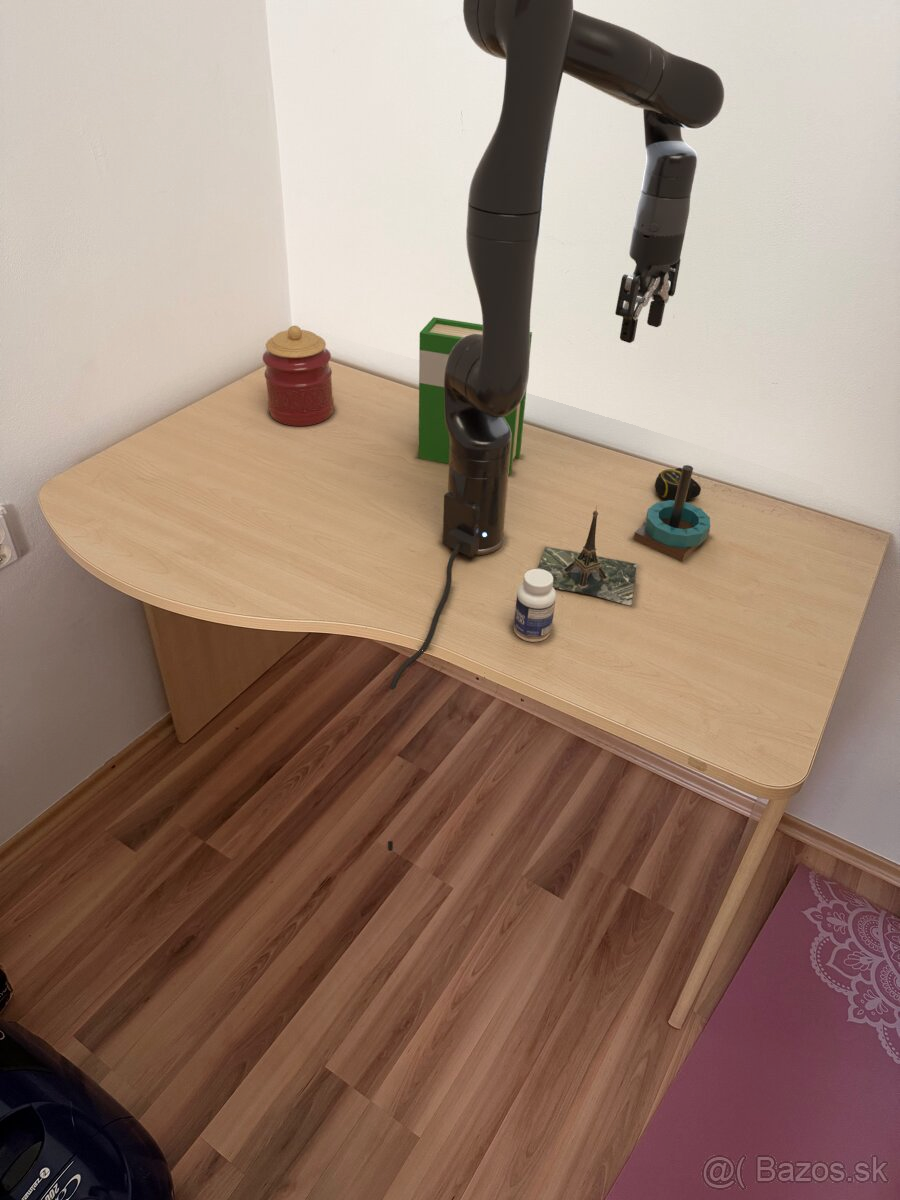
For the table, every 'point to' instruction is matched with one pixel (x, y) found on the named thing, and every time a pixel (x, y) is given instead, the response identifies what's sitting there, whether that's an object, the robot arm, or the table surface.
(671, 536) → the ring
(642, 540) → the stand
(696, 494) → the tape measure
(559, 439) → the table surface
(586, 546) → the eiffel tower figurine
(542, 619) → the pill bottle
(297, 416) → the kitchen canister
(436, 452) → the hardback book
